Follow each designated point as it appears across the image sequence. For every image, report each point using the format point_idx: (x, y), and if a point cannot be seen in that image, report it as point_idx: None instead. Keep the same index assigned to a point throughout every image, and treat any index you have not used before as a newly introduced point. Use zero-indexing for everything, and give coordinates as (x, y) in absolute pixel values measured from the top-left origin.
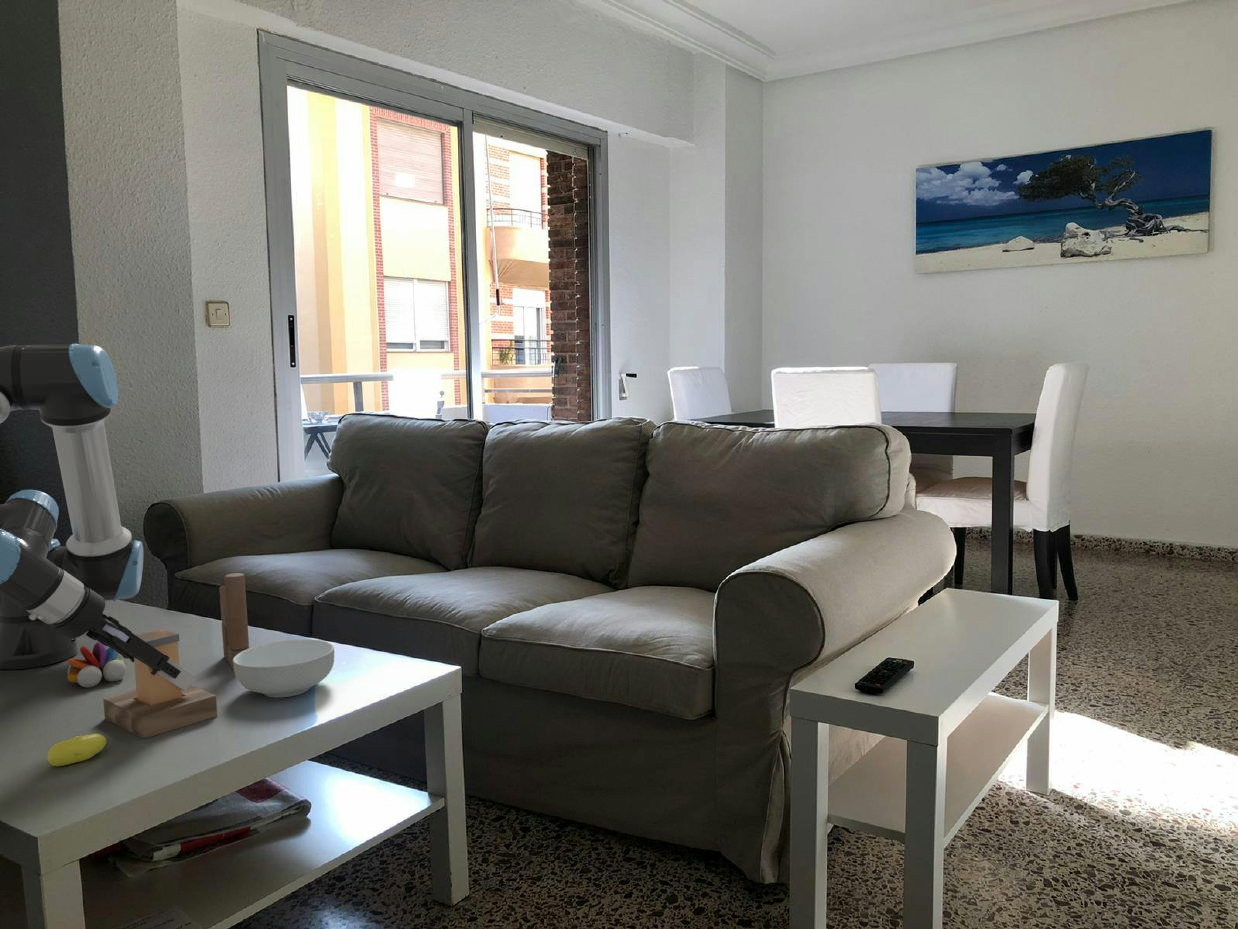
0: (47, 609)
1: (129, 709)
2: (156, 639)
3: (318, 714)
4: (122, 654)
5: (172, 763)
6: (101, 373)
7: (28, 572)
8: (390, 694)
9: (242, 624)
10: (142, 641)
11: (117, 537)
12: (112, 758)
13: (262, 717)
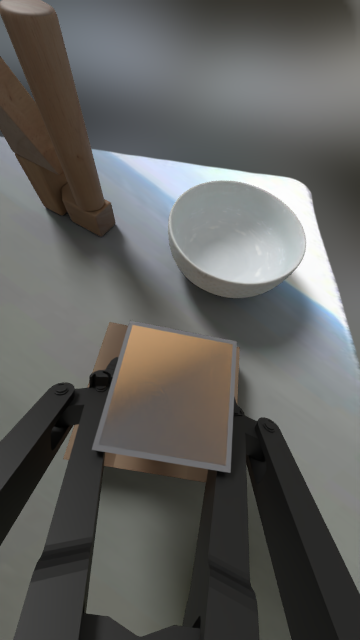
0: None
1: (173, 471)
2: (231, 422)
3: (318, 302)
4: (63, 439)
5: (344, 513)
6: None
7: None
8: (319, 239)
9: (93, 165)
10: (348, 580)
11: None
12: (255, 566)
13: (278, 333)
